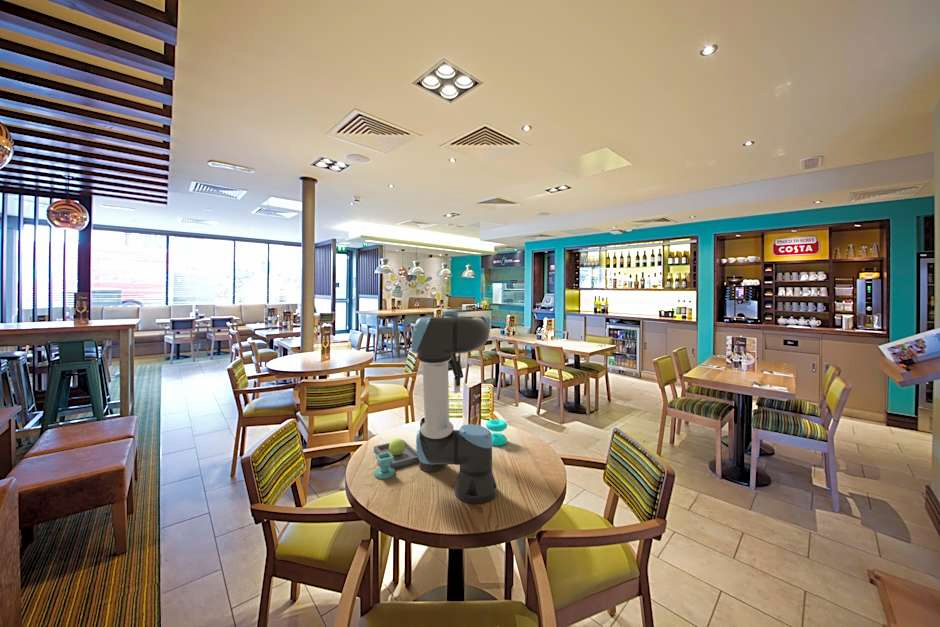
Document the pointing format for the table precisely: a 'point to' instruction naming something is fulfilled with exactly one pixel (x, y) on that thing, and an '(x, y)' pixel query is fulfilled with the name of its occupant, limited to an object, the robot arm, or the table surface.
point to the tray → (399, 460)
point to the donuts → (497, 427)
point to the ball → (397, 446)
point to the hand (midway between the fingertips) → (449, 389)
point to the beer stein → (429, 466)
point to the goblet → (384, 466)
